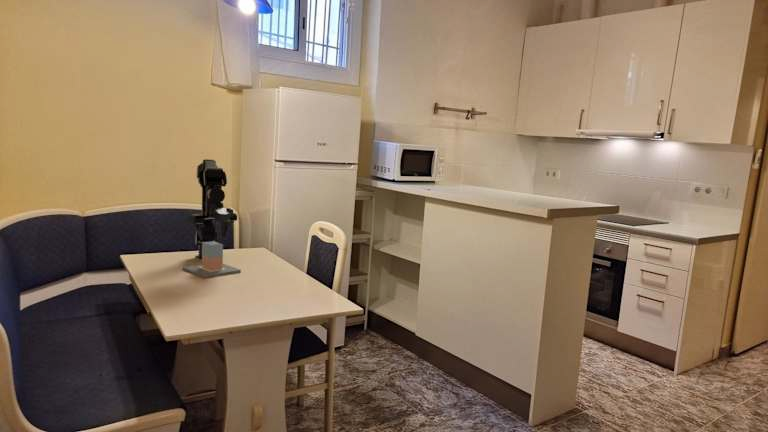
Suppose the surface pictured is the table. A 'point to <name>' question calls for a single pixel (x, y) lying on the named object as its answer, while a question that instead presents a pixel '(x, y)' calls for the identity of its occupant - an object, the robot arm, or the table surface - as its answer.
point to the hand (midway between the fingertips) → (212, 238)
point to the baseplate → (208, 273)
